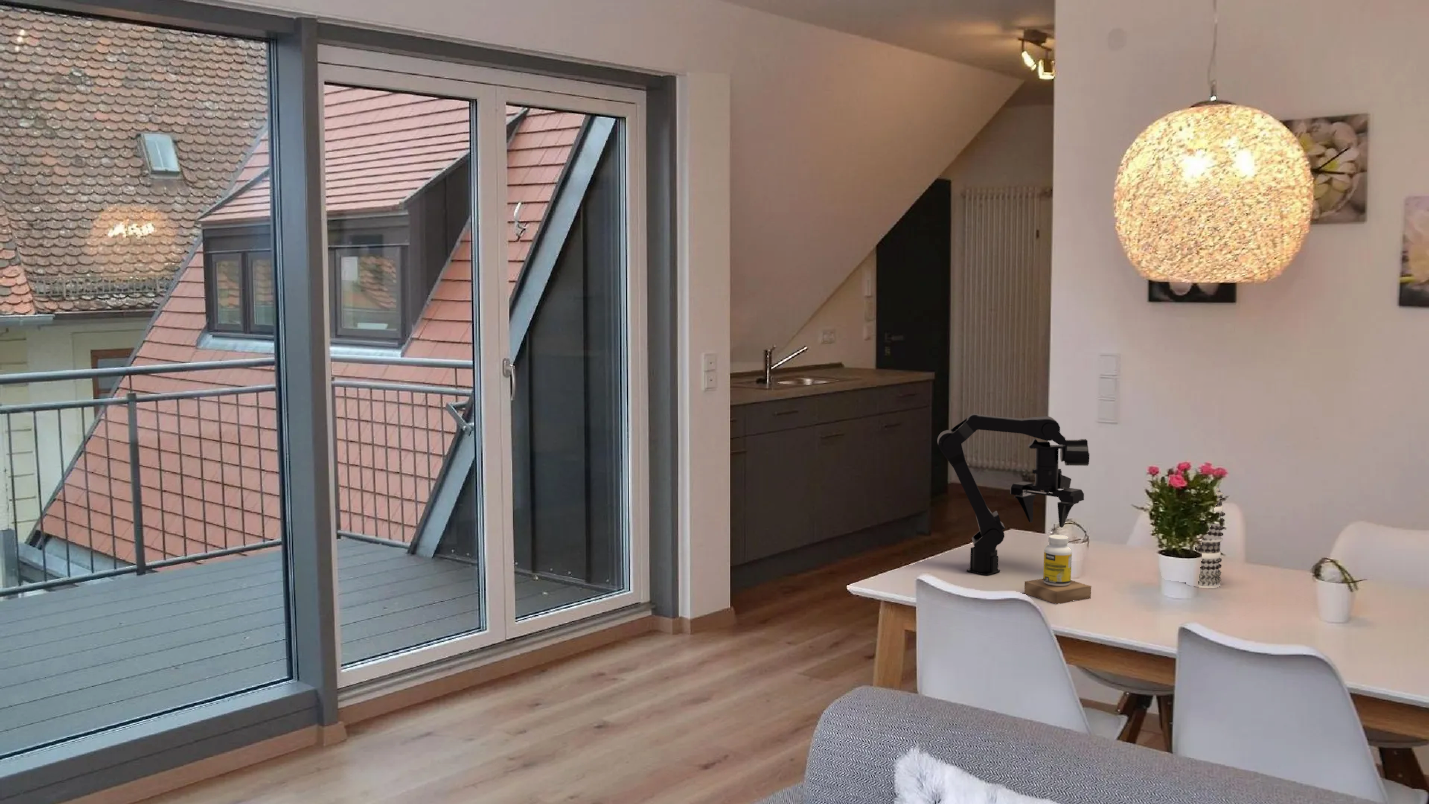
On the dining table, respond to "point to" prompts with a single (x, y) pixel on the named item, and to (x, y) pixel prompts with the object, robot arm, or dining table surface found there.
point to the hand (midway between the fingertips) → (1046, 524)
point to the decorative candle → (1211, 552)
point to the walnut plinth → (1057, 591)
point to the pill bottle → (1057, 561)
